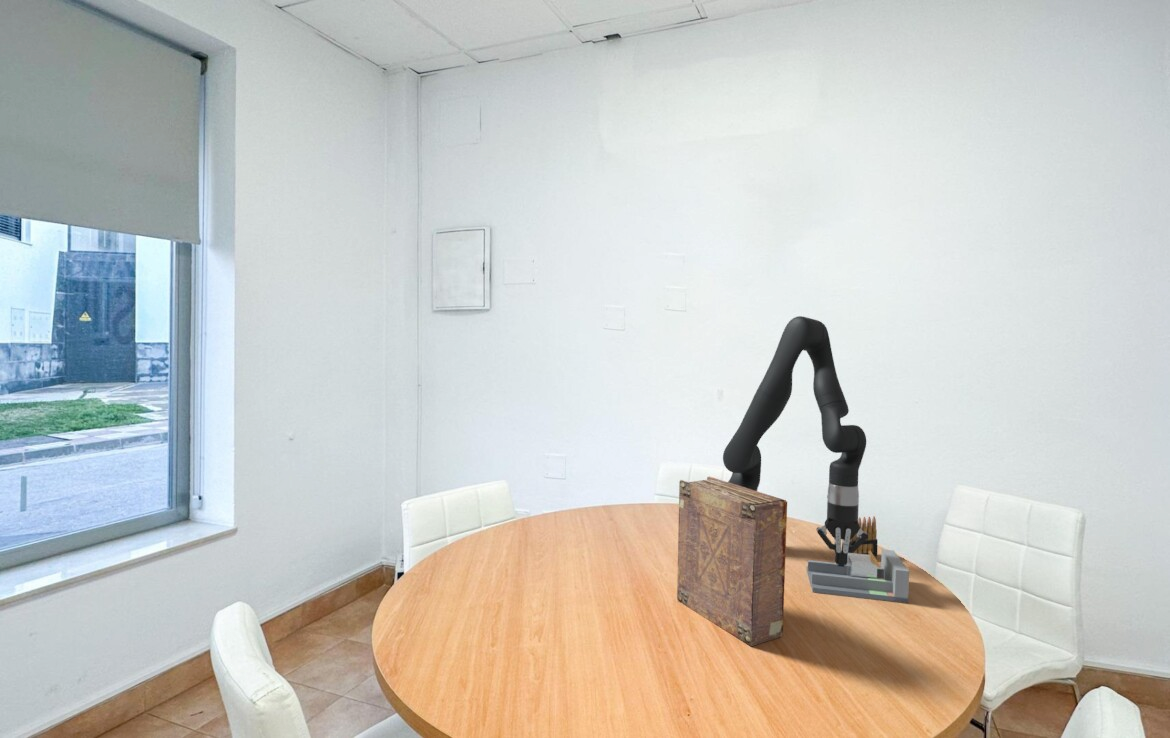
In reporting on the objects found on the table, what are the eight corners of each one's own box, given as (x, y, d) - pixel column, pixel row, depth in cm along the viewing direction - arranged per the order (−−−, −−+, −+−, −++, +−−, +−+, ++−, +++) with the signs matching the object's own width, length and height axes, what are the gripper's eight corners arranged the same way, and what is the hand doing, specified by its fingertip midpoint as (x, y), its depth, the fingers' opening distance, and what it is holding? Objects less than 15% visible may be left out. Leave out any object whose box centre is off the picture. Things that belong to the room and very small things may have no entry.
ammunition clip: (873, 553, 177) (874, 515, 177) (877, 556, 175) (879, 516, 175) (843, 557, 174) (844, 517, 174) (847, 559, 172) (849, 519, 172)
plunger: (851, 585, 149) (852, 559, 149) (845, 573, 158) (846, 548, 157) (877, 588, 148) (878, 562, 148) (870, 576, 156) (870, 551, 156)
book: (676, 600, 143) (678, 479, 142) (705, 592, 148) (708, 475, 146) (751, 647, 121) (755, 505, 120) (783, 637, 126) (787, 500, 124)
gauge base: (812, 592, 149) (813, 561, 148) (806, 570, 163) (807, 542, 163) (908, 603, 143) (909, 571, 143) (892, 579, 158) (893, 550, 157)
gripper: (817, 502, 151) (815, 568, 152) (873, 506, 148) (871, 573, 148) (814, 495, 158) (812, 558, 159) (867, 499, 155) (865, 563, 155)
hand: (840, 565), depth 154 cm, fingers closed
